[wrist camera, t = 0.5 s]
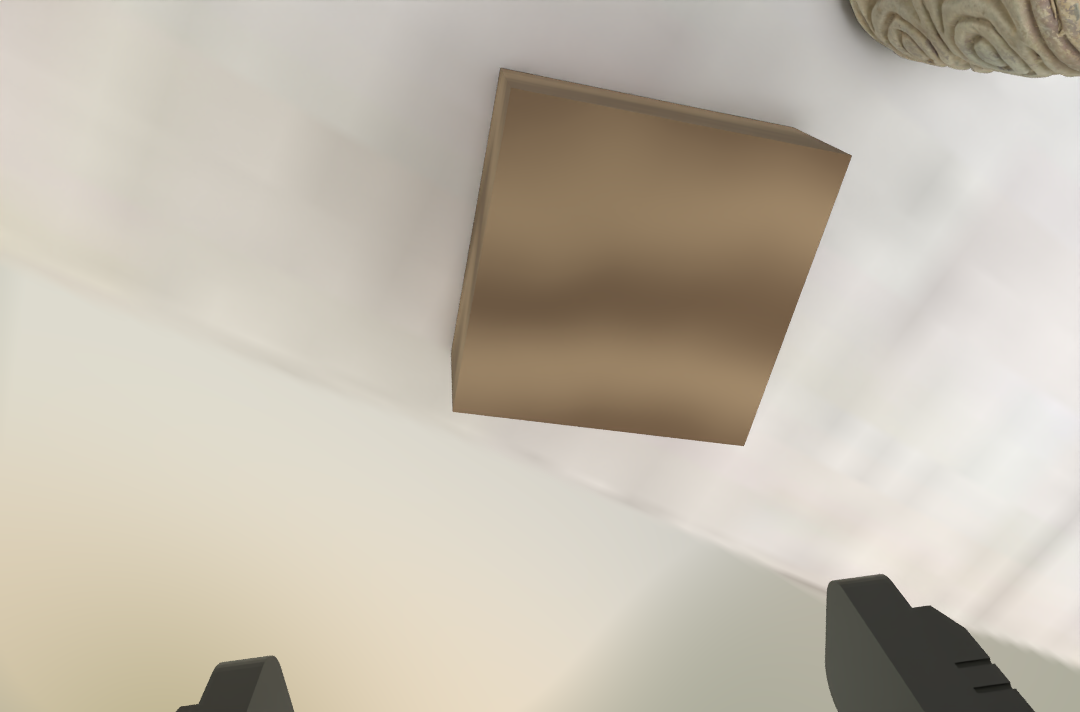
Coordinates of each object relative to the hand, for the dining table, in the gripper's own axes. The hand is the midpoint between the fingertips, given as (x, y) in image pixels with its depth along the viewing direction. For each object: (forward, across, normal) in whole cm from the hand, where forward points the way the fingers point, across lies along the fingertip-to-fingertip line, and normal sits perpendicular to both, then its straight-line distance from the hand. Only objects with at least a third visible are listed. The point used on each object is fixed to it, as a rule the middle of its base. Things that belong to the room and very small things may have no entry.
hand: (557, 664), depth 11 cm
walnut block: (+23, -4, 0) cm, 24 cm away
